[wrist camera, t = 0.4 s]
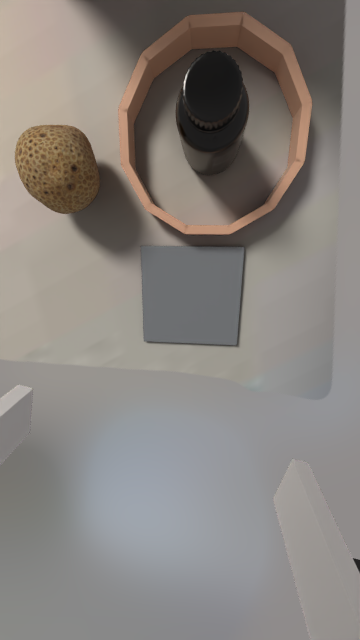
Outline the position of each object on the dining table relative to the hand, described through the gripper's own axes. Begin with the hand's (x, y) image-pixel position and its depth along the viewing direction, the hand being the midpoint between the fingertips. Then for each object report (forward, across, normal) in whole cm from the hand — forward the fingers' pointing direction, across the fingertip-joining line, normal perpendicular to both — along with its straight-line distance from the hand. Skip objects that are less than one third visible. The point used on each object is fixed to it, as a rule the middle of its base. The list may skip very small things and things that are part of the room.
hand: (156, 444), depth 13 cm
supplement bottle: (+27, -2, +21) cm, 34 cm away
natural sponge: (+27, -18, +13) cm, 35 cm away
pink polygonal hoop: (+26, -3, +21) cm, 34 cm away
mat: (+26, 0, +2) cm, 26 cm away
